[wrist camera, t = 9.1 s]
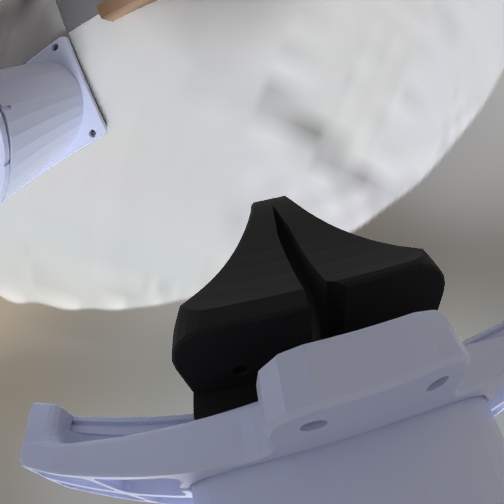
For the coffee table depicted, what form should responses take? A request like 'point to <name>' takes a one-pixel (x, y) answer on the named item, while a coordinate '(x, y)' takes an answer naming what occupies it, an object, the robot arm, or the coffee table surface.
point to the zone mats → (77, 11)
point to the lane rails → (119, 8)
